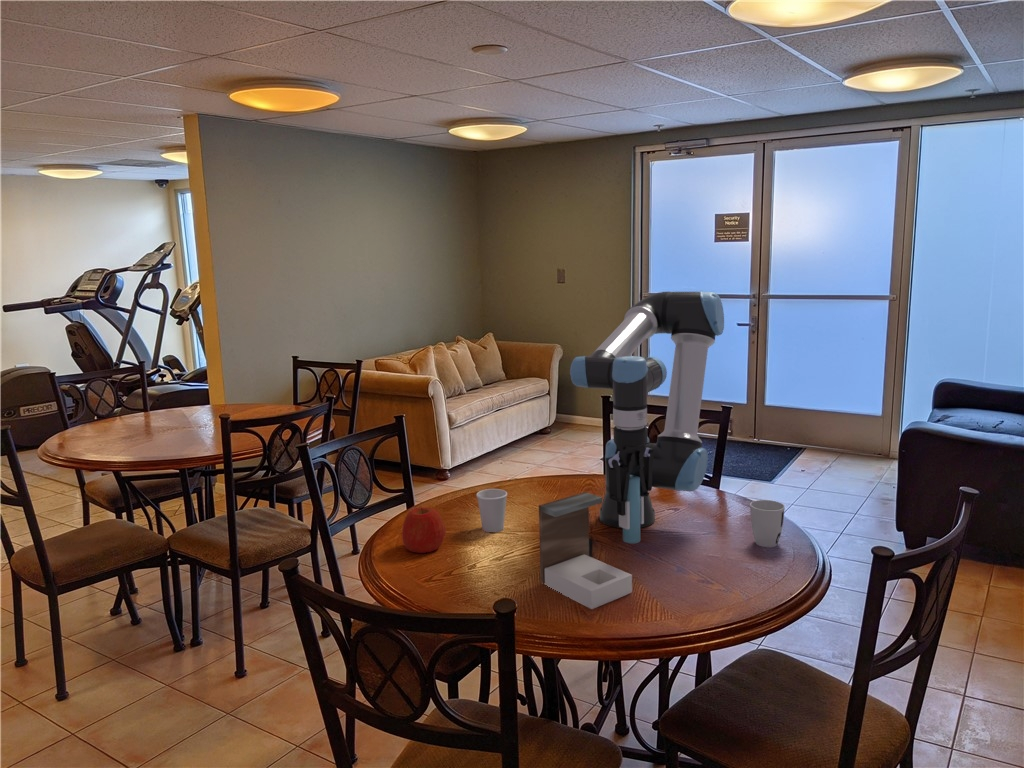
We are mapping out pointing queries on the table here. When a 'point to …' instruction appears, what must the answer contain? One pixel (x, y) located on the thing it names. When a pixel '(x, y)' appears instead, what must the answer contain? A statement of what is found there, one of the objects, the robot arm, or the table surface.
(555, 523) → the awning
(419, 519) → the apple
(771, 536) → the cup
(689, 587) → the table surface
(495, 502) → the dixie cup
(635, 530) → the peg
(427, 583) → the table surface
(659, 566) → the table surface
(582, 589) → the socket
